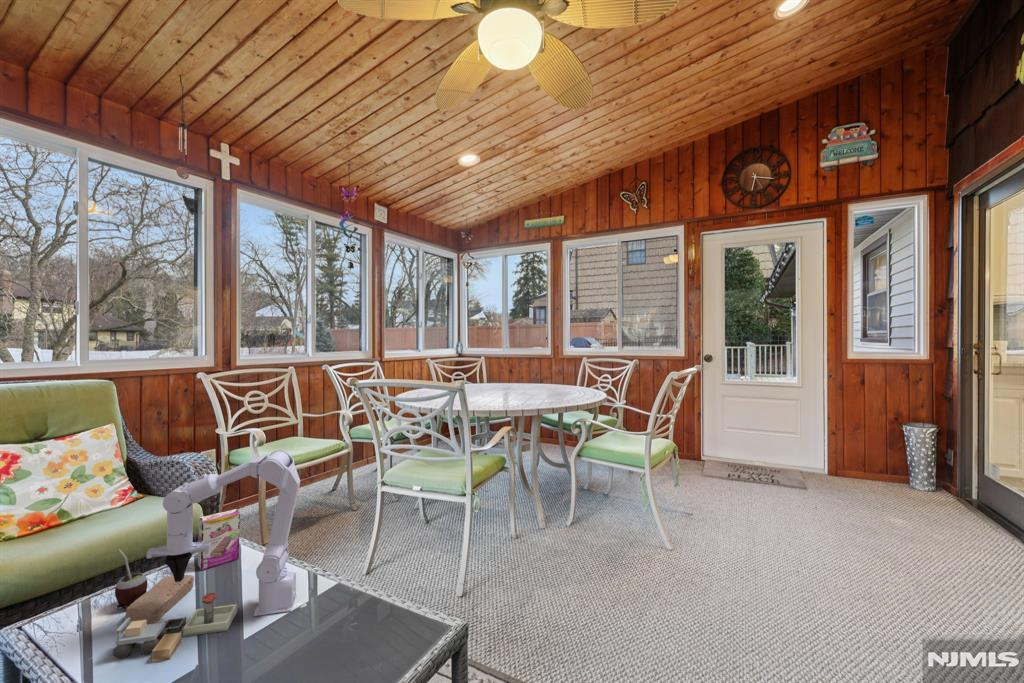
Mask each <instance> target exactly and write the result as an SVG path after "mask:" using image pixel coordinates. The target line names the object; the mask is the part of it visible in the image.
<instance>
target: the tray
mask: <svg viewBox="0 0 1024 683" xmlns="http://www.w3.org/2000/svg"><path fill="white" fill-rule="evenodd" d="M237 613H238V604H237V603H236V604H228V605H227V604H226V605H220V606H214V621H213V622H212V623H210V624H204V608H197V609H195V610H194V612H193V613H192V615H191V616H190V618H189V619H188V620H187V621H186V625H185V626H184V628H183V629H182V637H183V638H184V637H185V638H186V637H192V636H199V635H206V634H214V633H220V632H225V631H226V632H227V631H228V630H229V629H230V626H231V625H232V623H233V620H234V619H235V617H236V614H237Z"/></svg>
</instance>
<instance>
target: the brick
mask: <svg viewBox="0 0 1024 683" xmlns="http://www.w3.org/2000/svg"><path fill="white" fill-rule="evenodd" d="M194 578H195V577H194V575H192V574H184V578H183V579H182V581H181V582H175V580H174V576H173V575H165V576H164V577H163V578H161V579H160V580H158V581H157V582H156V584H155V585H154V586H152V587H151V588H150V589H149V590H148V591H146V593H145V594H143V595H142V596H141V597H139V598H138V599H137V600H135V601H134V603H132V604H131V605H130V606H129V607H127V609H126V608H125V609H126V610H127V611H126V612H125V617H124V621H125V620H126V619H127V618H130V617H131V622H132V621H139V620H147V625H149V624H156V623H158V621H159V620H161V619H162V618H163V617H164V616H165V615H166V613H168V612H169V611H170V610H171V609H172V608H173V607H174V606H176V605H178V603H179V602H180V601H181V600H182V599H184V598H185V597H186V596H187V595H188V594H189V592H190V591H191V590H192V589H193V587H194V581H195V580H194Z"/></svg>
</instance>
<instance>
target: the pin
mask: <svg viewBox="0 0 1024 683" xmlns="http://www.w3.org/2000/svg"><path fill="white" fill-rule="evenodd" d="M216 598H217V597H216V593H215V592H209V593H207V594H204V595H203V596H202V597H201V602H202V603H203V609H204V624H210V623H212V622H213V621H214V607H215V600H216Z"/></svg>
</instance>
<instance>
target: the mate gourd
mask: <svg viewBox="0 0 1024 683" xmlns="http://www.w3.org/2000/svg"><path fill="white" fill-rule="evenodd" d="M118 552H119V553H120V555H121V556H122V557H123V562H124V563H125V567H126V572H127V575H125V576H123V577H121V578H120V579H119V580H118V581H117V583H116V585H115V587H114V597H115V599H116V602H117V609H122V608H125V609H124V613H126V611H127V610H126V609H127V607H129V606H130V605H131V604H132V603H134V601H135V600H137V599H138V598H139V597H141V596H142V595H143V594H145V593H146V592H148V591H147V589H148V579H147V576H146V575H145V574H144V573H143V572H133V573H131V571H130V566H129V562H128V561H129V560H128V557H127V555H126V554H125V553H124V552H123V550H121V549H118Z"/></svg>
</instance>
